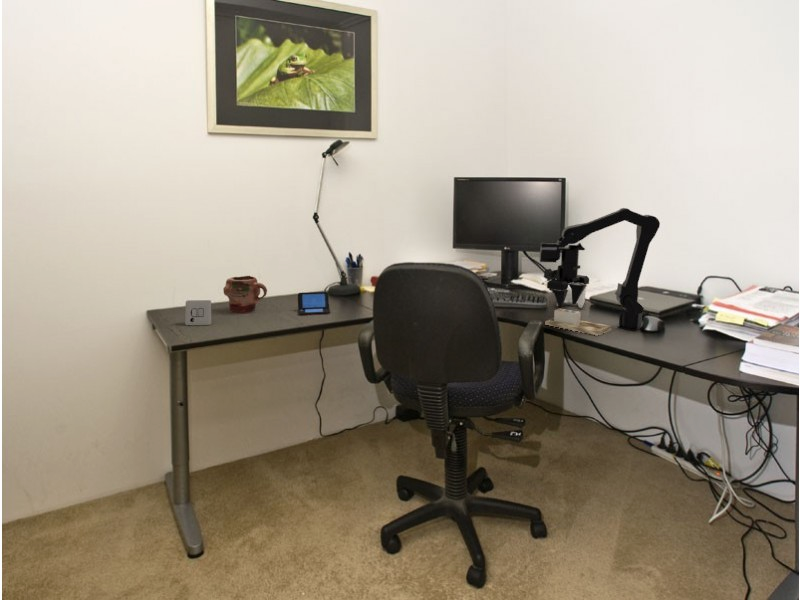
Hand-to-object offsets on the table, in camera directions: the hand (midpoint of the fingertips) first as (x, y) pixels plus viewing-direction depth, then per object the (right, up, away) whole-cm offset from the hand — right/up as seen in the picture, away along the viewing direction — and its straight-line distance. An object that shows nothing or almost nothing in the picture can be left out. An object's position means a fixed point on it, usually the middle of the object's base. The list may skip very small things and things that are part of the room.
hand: (567, 306), depth 200 cm
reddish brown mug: (-122, -3, +30) cm, 126 cm away
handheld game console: (-94, -3, +27) cm, 98 cm away
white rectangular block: (0, -7, +1) cm, 7 cm away
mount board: (+3, -8, -2) cm, 8 cm away
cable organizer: (+12, 0, +34) cm, 36 cm away
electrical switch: (-134, -7, +10) cm, 135 cm away
